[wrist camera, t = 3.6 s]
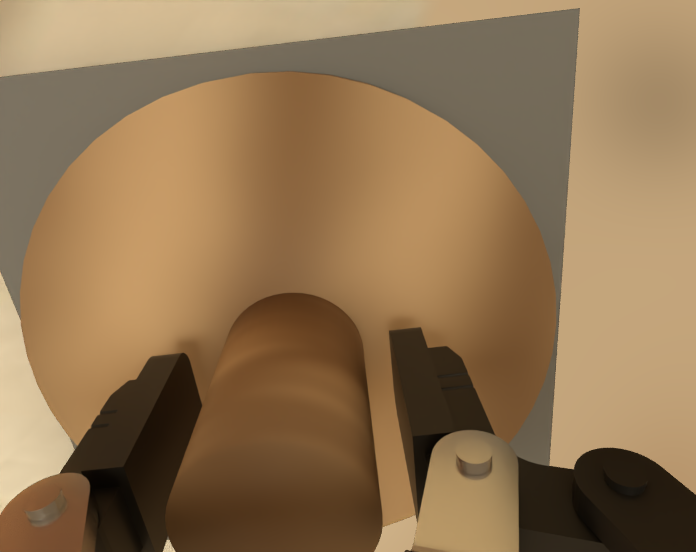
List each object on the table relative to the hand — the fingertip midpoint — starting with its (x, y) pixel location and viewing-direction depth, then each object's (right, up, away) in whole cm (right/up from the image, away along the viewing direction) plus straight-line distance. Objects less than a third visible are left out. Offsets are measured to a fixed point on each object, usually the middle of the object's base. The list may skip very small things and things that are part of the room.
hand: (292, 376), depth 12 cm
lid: (0, +1, +2) cm, 2 cm away
